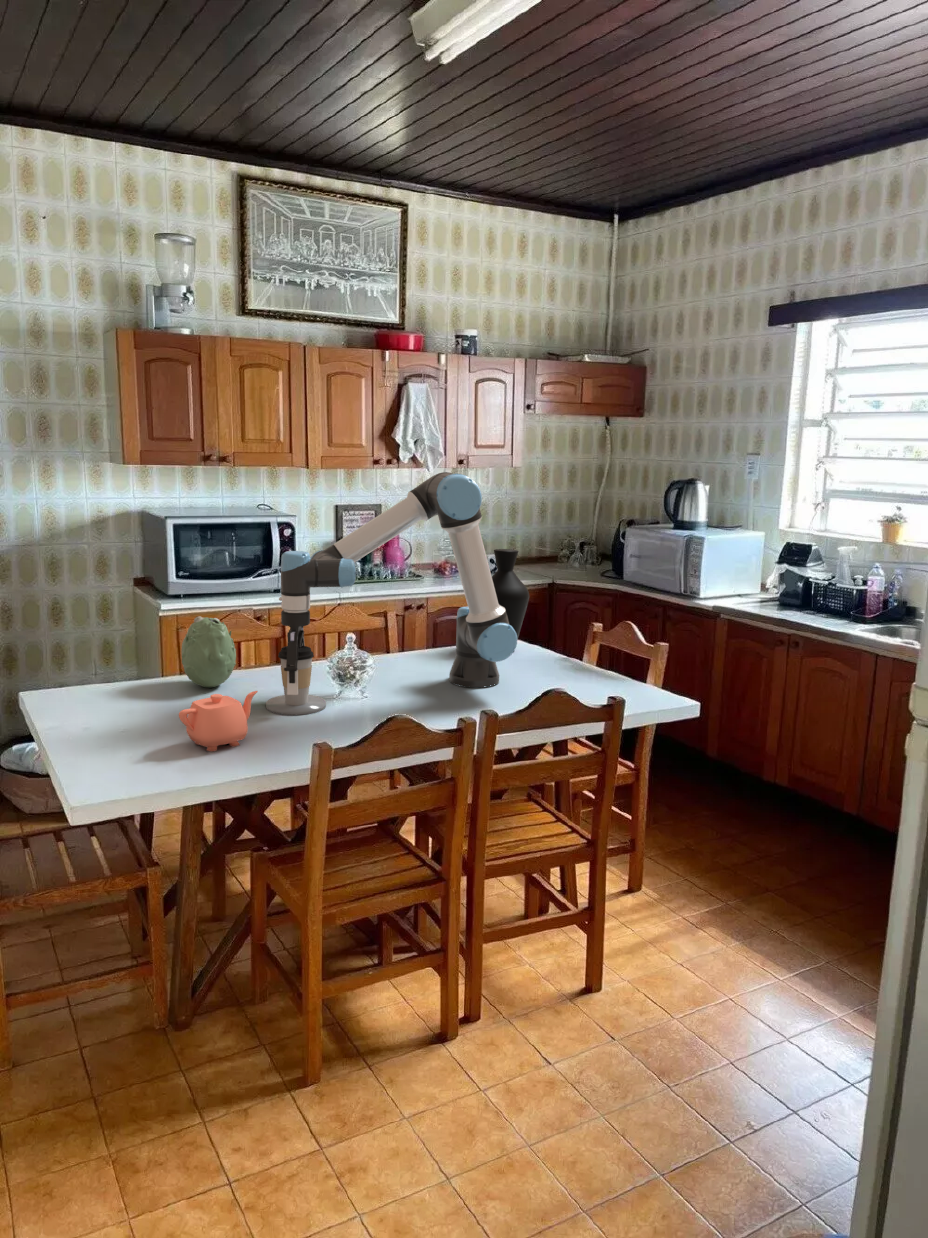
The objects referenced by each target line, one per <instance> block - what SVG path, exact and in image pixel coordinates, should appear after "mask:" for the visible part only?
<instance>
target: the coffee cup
mask: <svg viewBox="0 0 928 1238" xmlns="http://www.w3.org/2000/svg"><path fill="white" fill-rule="evenodd" d="M314 657H315V655H314V651H312V648H311V647H310V646H306V645H305V646H301V648H299V652H298V663H297V670H298V695H287V671H284V668H286V662H287V646H282V647H281V649H280V651H279V653H278V658H279V660H280V671H281V681H282V687H283V692H284V694H283V695H285V703H286V704H288V705H293V706H300V705H304V704H306V703H307V702H308V695H310V694H309V692H310V686H311V679H312V678H311V677H312V670H313V669H312V668H313V665H312V663H313V658H314ZM290 666H294V665H290Z"/></svg>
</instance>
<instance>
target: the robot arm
mask: <svg viewBox="0 0 928 1238" xmlns="http://www.w3.org/2000/svg"><path fill="white" fill-rule="evenodd" d="M482 500H483V497H482V492H481V489H480V487H479V485H478V483H476V481H474V480H473V479H472V478H471V477H469V476H467V475H465V474H462V473H452V472H448V471H441V472H439V473H436V474H434V475H432V476H430V477H428V478H427V479H426V480H424V481H423V482H422V483H420V484H419V485H417V486H416V487H414V488H412V489H411V490H409V491H408V493H407V496H406V497H405V498H404V499H402V500H401V501H399V502H398V503H396V504H394V505H393V506H391V507H389V508H388V509H387V510H385V511H383V512H382V513H380V514H379V515H377V516H376V517H374V518H373V519H371V520H369V521H367V522H366V523H365V524H363V525H361V526H360V527H358V528H357V529H355V530H354V531H352V532H350V533H349V534H347V535H346V536H344V537H343V538H341V539H340V540H337V541H336V542H334V543H333V544H332V545H330V546H328V547H327V548H325V549H322V550H321V549H320V550H318V551H315V552H314V553H313V554H312V555H310V554H311V553H309V552H308V551H303V550H300V551H299V550H291V551H290V550H289V551H285V552H283V553H282V554H281V557H280V558H281V559H280V560H281V563H280V596H279V597H278V600H279V601H280V602H281V606H280V607H281V609H282V610H281V612H280V619H281V620H280V623H281V624H282V626H284V627H289V629H288V632H287V634H286V635H287V662H286V668H284V671H287V695H298V670H297V663H298V652H299V648H301V646H306V645H305V630H304V627H307V626H308V625H310V624H311V611H310V609H311V592H310V591H311V588H346V587H352V586H353V585H355V582H356V575H357V574H356V573H357V572H356V571H357V570H356V564H355V563H356V562H358V561H359V560H361V559H362V558H364V557H365V556H367V555H368V554H370V553H372V552H374V551H375V550H377V549H378V548H380V547H381V546H383V545H385V544H386V543H387V542H389V541H390V540H393V539H394V538H396V536H399V535H400V534H402V533H403V532H404V531H406V530H408V529H409V528H411V527H413V526H414V525H416V524H417V523H419V522H420V521H424V522H427V521H429V520H430V519H432V518H434V517H436V516H437V518H438V520H439V524H440V528H441V529H442V530H444V531H445V532H447V533H448V536H449V540H450V544H451V547H452V548H451V549H452V551H453V556H454V558H455V563H456V567H457V570H458V575H459V578H460V582H461V586H462V589H463V594H464V597H465V600H466V603H467V604H466V605H467V606H462V607H459V608H458V609H457V613H456V614H457V615H456V617H455V619H456V634H455V635H456V636H455V637H456V639H455V641H456V643H455V657H454V659H453V662H452V665H451V668H450V670H449V675H448V676H449V678H448V679H449V680H448V681H449V682H450V683H451V684H452V685H455V686H459V685H460V686H459V687H464V686H465V687H466V688H474V687H481V688H485V687H484V686H490V685H494V684H496V685H498V684H499V683H500V672H499V669H498V665H497V662H498V663H499V662H502V661H505V660H507V659H508V658H509V657H511V655H513V653H515V650H516V649H517V645H518V640H517V634H516V632H515V630H514V629H513V627H512V626H511V625H509V621H508V617H507V614H506V610H505V608H504V607H502V606H500V605H499V604H498V600H497V596H496V592H495V588H494V584H493V580H492V576H493V575H492V573H491V570H490V566H489V561H488V557H487V553H486V550H485V546H484V541H483V537H482V533H481V531H480V529H481V528H480V526H479V524H480V523H481V520H482V519H483V516H482V512H481V511H482V510H481V506H482ZM290 665H294V666H290ZM494 686H495V685H494ZM465 687H464V688H465ZM490 687H491V686H490Z"/></svg>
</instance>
